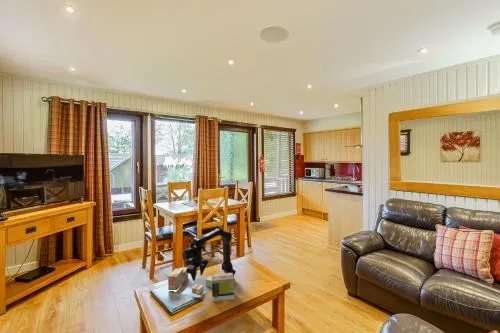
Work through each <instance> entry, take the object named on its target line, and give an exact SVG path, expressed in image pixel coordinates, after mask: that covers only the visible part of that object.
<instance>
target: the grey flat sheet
mask: <svg viewBox="0 0 500 333" xmlns="http://www.w3.org/2000/svg"><path fill="white" fill-rule="evenodd" d="M196 284H199V285H203V286H204V292H203V293H202V294H201V296H202V298H203V297H205V296H206V295H207V294H208V293H209V292H210V291H212V287H208V286H206V279H201V278H200V279H199V278H197V279H195V281H193V282H192V283H190V284H189V285H188V286H189V287H191V288H192V287H193V286H194V285H196Z"/></svg>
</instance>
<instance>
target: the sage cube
mask: <svg viewBox="0 0 500 333" xmlns="http://www.w3.org/2000/svg"><path fill="white" fill-rule="evenodd" d="M205 281H206V286H208V287H212V276H207V277H206V278H205Z"/></svg>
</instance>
